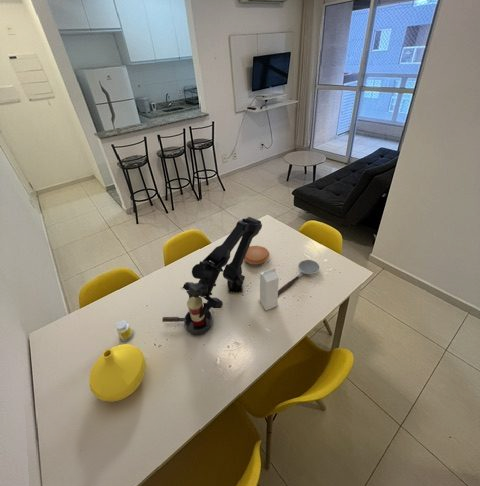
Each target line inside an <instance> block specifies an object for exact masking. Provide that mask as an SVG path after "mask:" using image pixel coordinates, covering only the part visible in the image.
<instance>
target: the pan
mask: <svg viewBox="0 0 480 486" xmlns="http://www.w3.org/2000/svg"><path fill="white" fill-rule="evenodd" d="M205 317H206V322H205V324H204V325H202V326H200V327H196V326H194V325H193V323H192V320H191V316H190V312H189V311H188V312H187V313H186V314H185V316H184V317H183V318H184V321H183V325H184V328H185V330H186V332H187V333H188V334H189V335H190V336H193V337H198V336H199V337H201V336H203V335H205V334H207V333H208V332H210V330H211V329H212V327H213V325H214V324H213V323H214V319H213V315H212V312H211V311H210V310H208V311H207V312H206V313H205Z"/></svg>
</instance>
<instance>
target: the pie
mask: <svg viewBox="0 0 480 486" xmlns="http://www.w3.org/2000/svg"><path fill="white" fill-rule="evenodd" d="M269 258H270V251H269V250H268V249H267V248H266V247H264V246H261V245H250V246H249V248H248V251H247V253H246V255H245V258H244V260H243V261H245V262H246V263H247V264H248V265H250V266H254V267H255V266H256V267H257V266H261V265H263V264H264V263H266V262H267V261H268V260H269Z"/></svg>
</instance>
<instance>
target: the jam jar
mask: <svg viewBox="0 0 480 486" xmlns="http://www.w3.org/2000/svg"><path fill="white" fill-rule="evenodd" d="M202 298H203V297H200V296H198V297H197V298H195V297H191V298H190V299H189V298H188V299H187V300H186V301H187V302H186V305H187V308H189V310H188V312H190V316H191V320H192V323H193V325H194V326H196V327H200V326H202V325H204V324H205V322H206V317H205V314H204V315H203V316H202V317H201V318H199V315H200V313H201V311H202V308H203V303H204V302H203V299H202Z"/></svg>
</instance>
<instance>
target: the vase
mask: <svg viewBox="0 0 480 486" xmlns="http://www.w3.org/2000/svg"><path fill="white" fill-rule="evenodd" d="M146 365H147V363H146V358H145V356H144V353H143V351H142V350H141V349H140V348H139V347H138V346H135V345H132V344H130V343H129V344H128V343H123V344H117V345H115V346H112V347H111V348H108V349H105V350H104V351H103V353H102V354H101V355H100V356H99V357H98V358H97V359H96V361H95V362H94V364H93V365H92V367H91V370H90V373H89V388H90V391H91V392H92V394H93V395H94V396H95V397H96V398H97V399H98V400H101V401H103V402H117V401H122V400H124V399H126V398H127V397H129V396H130V395H131V394H133V393H134V392H135V391H136V390H137V389H138V388H139V386H140V385H141V383H142V382H143V378H144V376H145V374H146V373H145V372H146Z"/></svg>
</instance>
